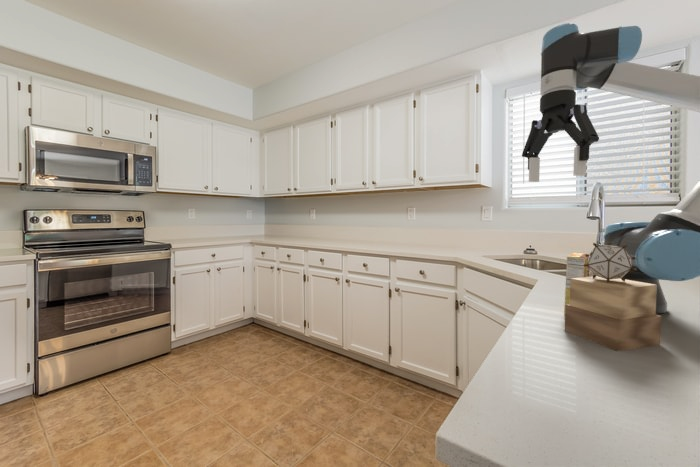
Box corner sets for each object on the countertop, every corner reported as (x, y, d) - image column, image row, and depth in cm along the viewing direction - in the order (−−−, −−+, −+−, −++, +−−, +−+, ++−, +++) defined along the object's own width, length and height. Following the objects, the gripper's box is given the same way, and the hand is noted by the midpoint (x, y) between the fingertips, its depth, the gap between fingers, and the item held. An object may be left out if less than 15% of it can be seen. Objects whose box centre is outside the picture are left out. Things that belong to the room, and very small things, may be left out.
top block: (601, 301, 72) (602, 275, 72) (655, 314, 62) (657, 284, 62) (569, 305, 69) (570, 278, 68) (621, 320, 59) (622, 288, 59)
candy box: (569, 308, 86) (571, 252, 85) (588, 311, 84) (590, 253, 83) (563, 315, 80) (565, 255, 79) (584, 319, 77) (586, 257, 76)
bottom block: (603, 326, 73) (604, 301, 72) (659, 346, 62) (661, 316, 61) (564, 331, 70) (565, 304, 70) (616, 351, 59) (618, 320, 59)
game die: (620, 300, 64) (659, 265, 58) (577, 284, 66) (611, 248, 60) (607, 272, 71) (640, 239, 65) (568, 258, 73) (598, 224, 67)
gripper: (509, 109, 90) (507, 183, 92) (593, 70, 66) (589, 171, 67) (531, 110, 92) (529, 183, 93) (621, 73, 68) (617, 172, 69)
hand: (554, 179), depth 80 cm, fingers open, 13 cm apart
